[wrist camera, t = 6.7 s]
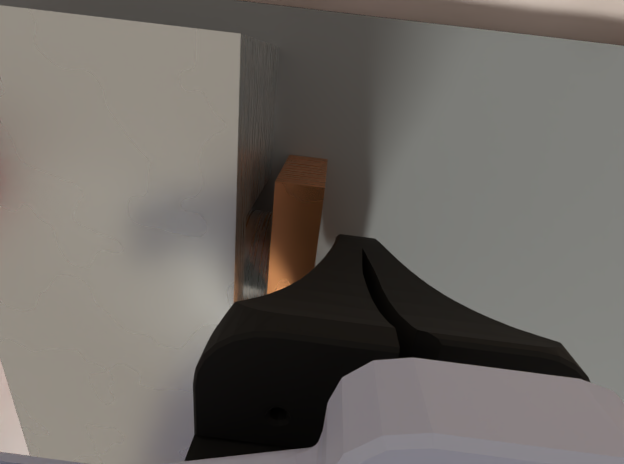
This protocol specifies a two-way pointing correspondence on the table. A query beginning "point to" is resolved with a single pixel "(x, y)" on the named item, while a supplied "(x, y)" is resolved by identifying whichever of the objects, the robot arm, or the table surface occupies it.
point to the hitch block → (122, 221)
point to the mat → (451, 155)
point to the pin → (285, 229)
